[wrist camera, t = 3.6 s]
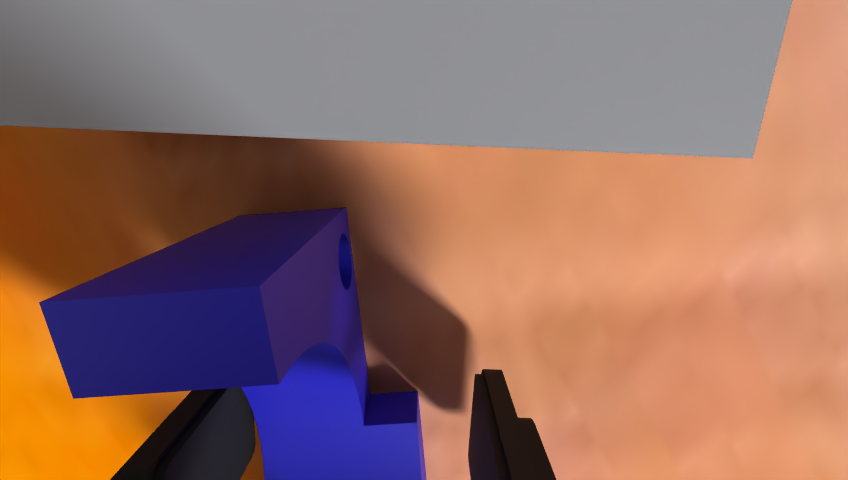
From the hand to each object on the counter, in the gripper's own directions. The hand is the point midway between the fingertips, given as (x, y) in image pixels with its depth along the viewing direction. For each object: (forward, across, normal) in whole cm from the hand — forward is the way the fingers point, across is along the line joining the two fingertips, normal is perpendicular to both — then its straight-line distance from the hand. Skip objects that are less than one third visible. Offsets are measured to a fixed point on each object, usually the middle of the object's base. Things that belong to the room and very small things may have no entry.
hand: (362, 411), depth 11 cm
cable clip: (+1, +1, 0) cm, 2 cm away
